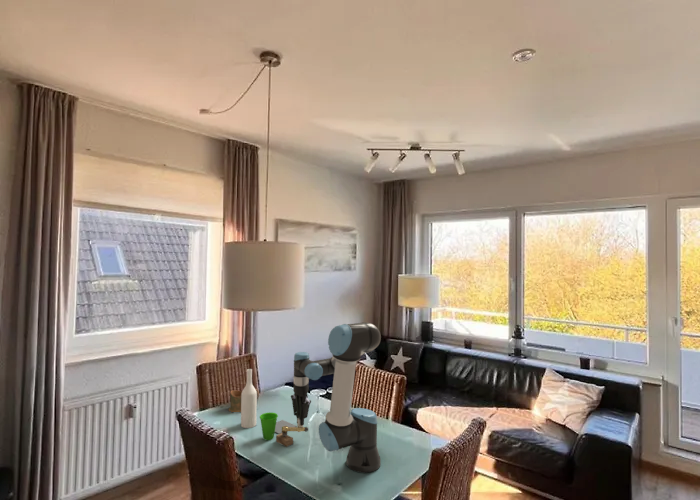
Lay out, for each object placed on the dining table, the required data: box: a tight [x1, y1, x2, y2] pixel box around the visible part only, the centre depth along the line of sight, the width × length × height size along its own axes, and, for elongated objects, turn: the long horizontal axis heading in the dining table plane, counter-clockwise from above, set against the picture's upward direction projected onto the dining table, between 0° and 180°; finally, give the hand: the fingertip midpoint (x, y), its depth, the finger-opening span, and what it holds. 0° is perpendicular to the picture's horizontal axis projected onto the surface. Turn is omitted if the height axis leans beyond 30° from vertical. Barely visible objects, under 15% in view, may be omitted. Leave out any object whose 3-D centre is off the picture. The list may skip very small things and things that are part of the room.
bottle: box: [240, 368, 258, 429], centre depth 211 cm, size 8×8×30 cm
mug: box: [228, 388, 260, 413], centre depth 233 cm, size 12×18×12 cm, turn 89°
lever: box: [282, 426, 309, 433], centre depth 193 cm, size 13×3×2 cm, turn 91°
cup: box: [259, 412, 279, 441], centre depth 196 cm, size 9×9×11 cm
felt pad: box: [274, 419, 297, 435], centre depth 209 cm, size 12×12×1 cm
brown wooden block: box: [275, 432, 294, 448], centre depth 191 cm, size 8×4×5 cm, turn 49°
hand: (300, 430), depth 195 cm, fingers closed
